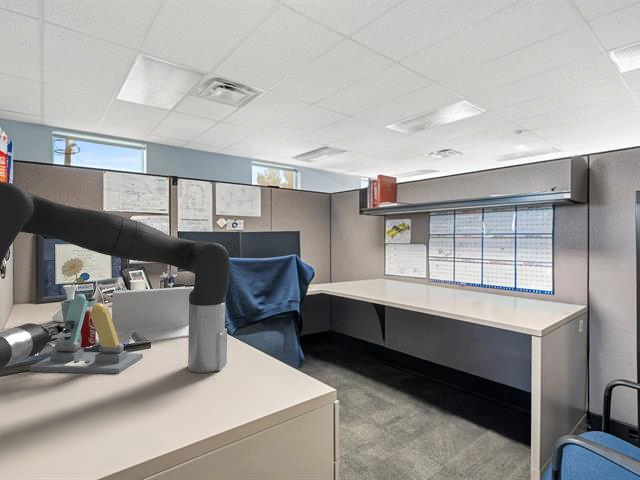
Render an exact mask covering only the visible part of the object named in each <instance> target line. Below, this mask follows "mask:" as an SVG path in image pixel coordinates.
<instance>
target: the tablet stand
mask: <svg viewBox="0 0 640 480" xmlns="http://www.w3.org/2000/svg"><path fill="white" fill-rule="evenodd" d="M193 289H194V286H180V287H165V288H164V287H163V288H148V289H132V290H131V289H130V290H128V289H127V290H114V291H113V292H111V293H112V294H111V295H112V296H111V297H112V298H111V319H112V322H113V325H114V328H115V331H116V334H117V338H118V341H119V342H122V341H128V340H130V339H131V338H132V333H134V332H138V333H140V334H141V335H142V336H144V337H145V338H146V339H148V340H149V341H150V342H149V343H153V342H161V341H169V340H176V339H183V338H184V339H185V338H188V335H189V294H190V292H191V291H192V290H193Z"/></svg>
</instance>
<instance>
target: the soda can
mask: <svg viewBox="0 0 640 480" xmlns="http://www.w3.org/2000/svg"><path fill="white" fill-rule="evenodd" d="M91 309H92V307H87V308H86V312H85V316H84V320H83V324H82V328H81V331H80V335H79V339H78V342H79V343H80V348H86V347H90V346H94V345H95V346H96V343H97V332H96V329H95V327H94V324H93V321H92V318H91V315H90V312H89V311H90V310H91ZM95 346H94V347H95Z"/></svg>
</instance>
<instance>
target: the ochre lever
mask: <svg viewBox="0 0 640 480" xmlns="http://www.w3.org/2000/svg"><path fill="white" fill-rule="evenodd" d="M89 312H90V315H91V318H92V321H93V324H94V327H95V329H96V336H97V338H98V341H99V347H98V351H99V352H106V353H121V352H122V351H124V347H125V345H123V344H122V343H119V341H118V338H117V334H116V331H115V328H114V325H113V322H112V315H111V313H110V310H109V308H106V307H105V305H104V304H103V303H100V302H99V303H98V302H97V304H95V305H94V306H93V307H92V309H91V310H90V311H89Z"/></svg>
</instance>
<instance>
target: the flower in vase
mask: <svg viewBox="0 0 640 480" xmlns="http://www.w3.org/2000/svg"><path fill="white" fill-rule="evenodd" d="M84 265H85V263H84V261H83V260H82V259H81V258H79V257H78V258H77V257H75V258H69V259H67V260H66V261H65V262H63V265H62V266H61V274H62V275H63V278H64V280H66V281H68V282H71V283H72V284H66V285H63V286H62V288H63V289H64V291H65V292H66V300H70V299H75V293H76V290H77V289H78V287H79V285H78V284H82V283H85V280H84V278H83V277H82V276H79V277H78V274H80V272H81V271H82V269H83V268H84V267H85V266H84ZM73 276H75V279H74V281H73V280H71V279H68V278H69V277H73ZM66 277H68V278H66ZM75 282H76V283H77V284H75ZM52 320H53V321H54V322H56V323H62V322H63V316H62V308H61V309H59V310H58V311H57V312H56V313H55V314H54V315H53V316H52Z"/></svg>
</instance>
